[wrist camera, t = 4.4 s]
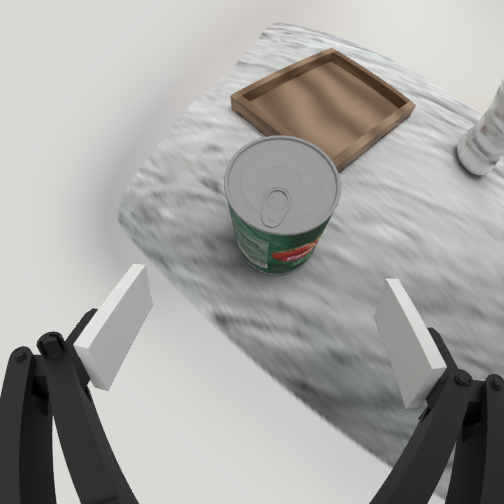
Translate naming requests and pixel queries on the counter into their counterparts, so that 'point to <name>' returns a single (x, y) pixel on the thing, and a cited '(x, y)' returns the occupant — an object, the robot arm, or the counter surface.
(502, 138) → the plastic bottle
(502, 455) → the robot arm
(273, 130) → the walnut tray
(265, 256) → the canned tomato
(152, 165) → the counter surface
